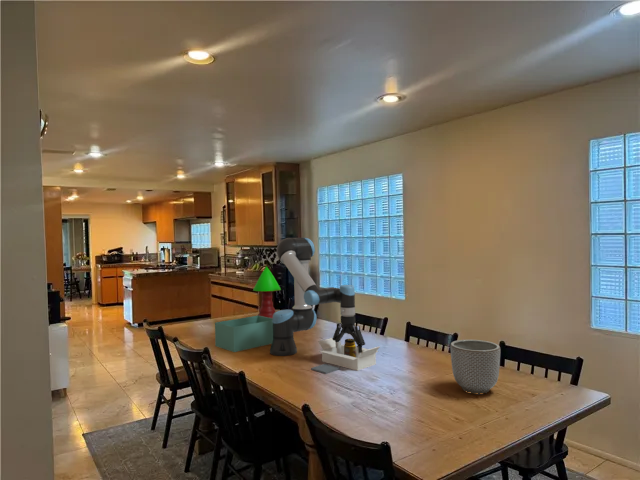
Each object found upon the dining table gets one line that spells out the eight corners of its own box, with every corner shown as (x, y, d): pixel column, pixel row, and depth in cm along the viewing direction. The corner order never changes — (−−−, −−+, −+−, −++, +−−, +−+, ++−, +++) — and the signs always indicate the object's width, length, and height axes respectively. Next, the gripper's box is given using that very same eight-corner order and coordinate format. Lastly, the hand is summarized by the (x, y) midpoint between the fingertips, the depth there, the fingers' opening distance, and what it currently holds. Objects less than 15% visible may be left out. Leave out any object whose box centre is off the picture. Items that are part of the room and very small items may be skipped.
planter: (495, 402, 172) (495, 353, 172) (445, 393, 182) (444, 347, 182) (504, 387, 189) (504, 342, 188) (457, 379, 199) (457, 337, 199)
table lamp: (257, 326, 325) (256, 265, 325) (284, 326, 322) (283, 265, 322) (250, 332, 306) (248, 267, 305) (278, 332, 303) (276, 266, 302)
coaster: (311, 369, 218) (311, 368, 218) (325, 365, 225) (325, 363, 225) (325, 373, 211) (325, 372, 211) (339, 369, 218) (339, 367, 218)
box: (215, 346, 269) (214, 322, 269) (258, 337, 291) (257, 315, 291) (234, 352, 254) (233, 327, 254) (278, 342, 276) (277, 319, 276)
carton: (313, 361, 232) (313, 342, 232) (339, 353, 247) (339, 335, 247) (359, 373, 211) (358, 352, 210) (384, 364, 225) (384, 344, 225)
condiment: (359, 363, 228) (359, 339, 228) (346, 366, 223) (345, 342, 223) (350, 360, 234) (350, 337, 234) (337, 362, 229) (337, 339, 229)
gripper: (325, 313, 235) (326, 353, 235) (361, 319, 217) (362, 362, 217) (335, 311, 240) (335, 351, 240) (371, 316, 222) (372, 359, 222)
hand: (348, 356), depth 228 cm, fingers open, 13 cm apart
